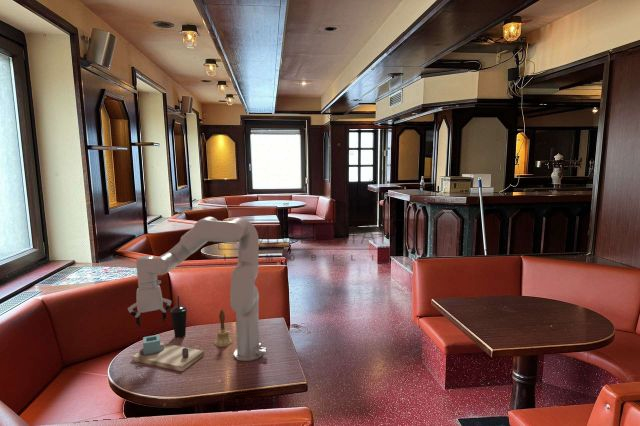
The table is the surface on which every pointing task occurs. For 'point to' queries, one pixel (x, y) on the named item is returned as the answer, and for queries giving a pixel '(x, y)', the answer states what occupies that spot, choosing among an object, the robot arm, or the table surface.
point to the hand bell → (222, 333)
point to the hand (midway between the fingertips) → (151, 322)
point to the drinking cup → (179, 320)
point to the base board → (170, 357)
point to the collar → (151, 344)
